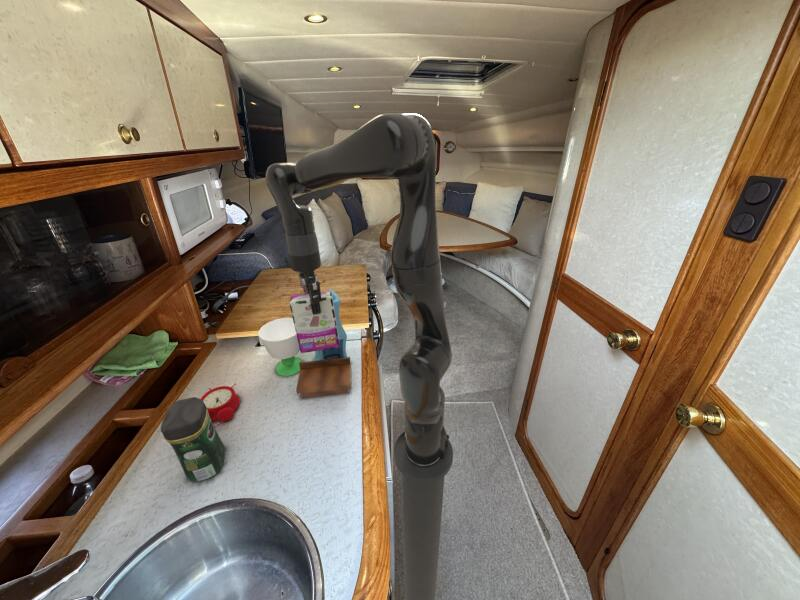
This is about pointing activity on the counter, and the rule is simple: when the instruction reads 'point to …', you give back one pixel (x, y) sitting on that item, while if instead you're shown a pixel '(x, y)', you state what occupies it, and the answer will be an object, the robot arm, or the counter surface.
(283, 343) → the cup
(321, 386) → the wooden serving tray
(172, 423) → the coffee jar
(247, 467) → the counter surface
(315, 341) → the candy bar box
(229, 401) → the alarm clock
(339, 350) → the blue forked stand
